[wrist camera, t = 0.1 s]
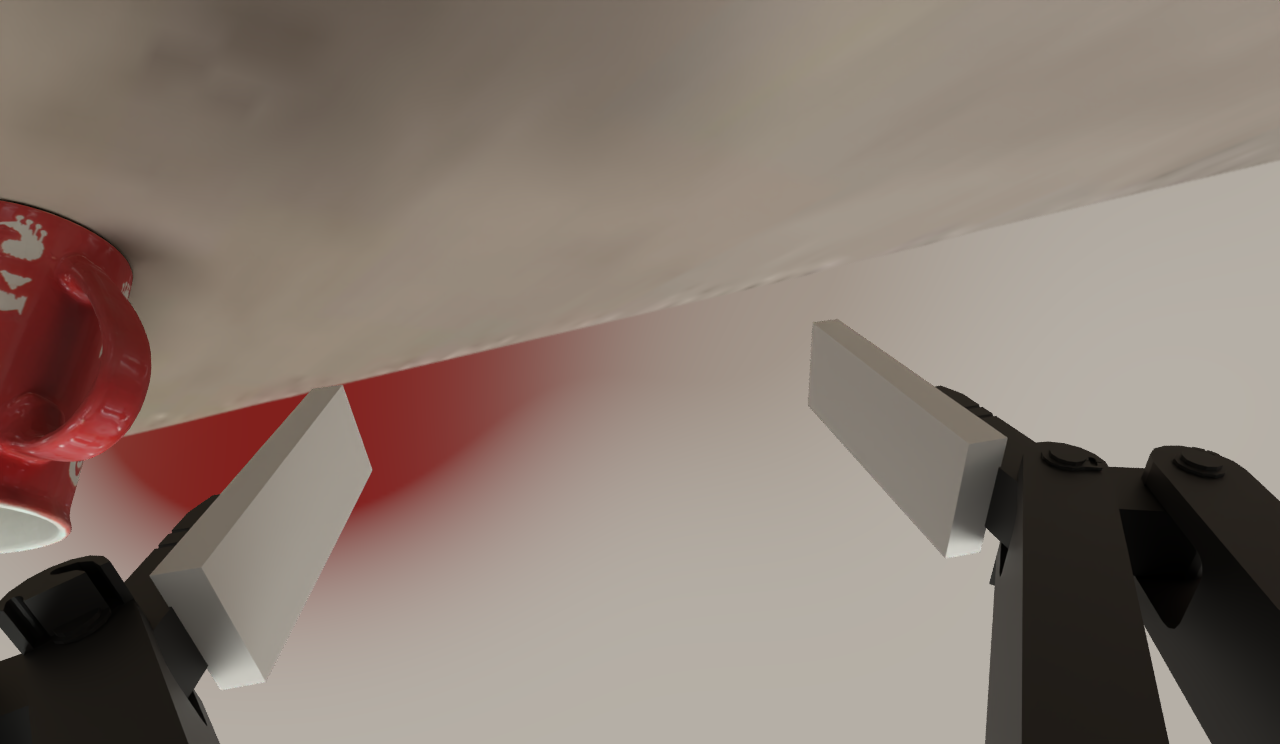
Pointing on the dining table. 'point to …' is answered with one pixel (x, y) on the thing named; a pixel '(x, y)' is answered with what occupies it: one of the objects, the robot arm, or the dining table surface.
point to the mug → (60, 367)
